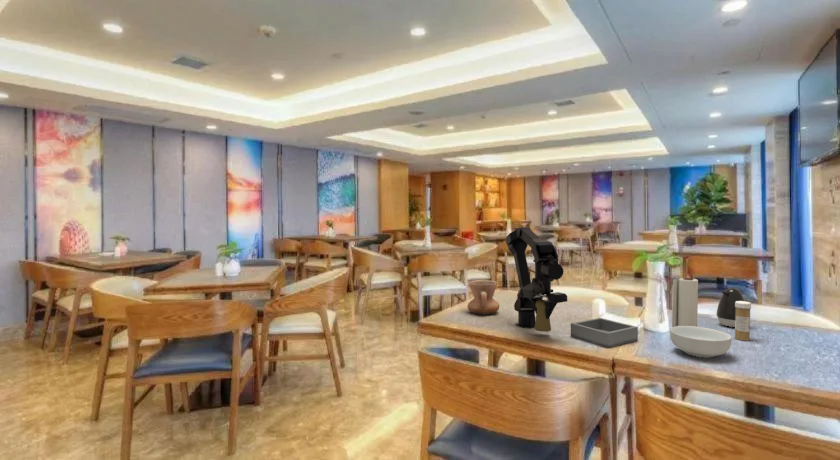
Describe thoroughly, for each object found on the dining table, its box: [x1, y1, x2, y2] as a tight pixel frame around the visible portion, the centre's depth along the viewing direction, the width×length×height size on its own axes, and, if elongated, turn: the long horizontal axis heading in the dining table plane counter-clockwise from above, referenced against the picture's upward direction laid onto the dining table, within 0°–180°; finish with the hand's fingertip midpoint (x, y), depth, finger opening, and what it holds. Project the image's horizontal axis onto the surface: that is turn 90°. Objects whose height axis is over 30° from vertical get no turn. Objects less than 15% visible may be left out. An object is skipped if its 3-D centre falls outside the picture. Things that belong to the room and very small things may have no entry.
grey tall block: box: [671, 277, 699, 328], centre depth 161 cm, size 7×6×21 cm
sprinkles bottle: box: [734, 301, 752, 342], centre depth 158 cm, size 5×5×13 cm
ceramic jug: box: [467, 279, 500, 315], centre depth 203 cm, size 18×14×14 cm
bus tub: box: [570, 317, 639, 349], centre depth 161 cm, size 16×16×5 cm
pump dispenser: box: [716, 287, 745, 328], centre depth 176 cm, size 10×10×15 cm
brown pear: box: [533, 299, 552, 333], centre depth 165 cm, size 6×6×11 cm
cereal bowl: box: [669, 326, 732, 359], centre depth 143 cm, size 17×17×7 cm
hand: (542, 317), depth 165 cm, fingers closed on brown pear, 4 cm apart
